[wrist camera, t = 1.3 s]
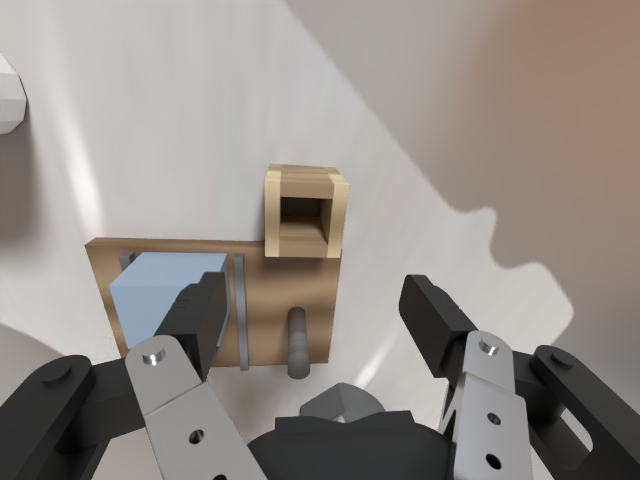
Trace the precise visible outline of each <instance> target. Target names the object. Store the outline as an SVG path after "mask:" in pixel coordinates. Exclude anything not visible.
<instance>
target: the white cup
mask: <svg viewBox="0 0 640 480" xmlns="http://www.w3.org/2000/svg"><path fill="white" fill-rule="evenodd" d="M26 101H27V99H26V96H25V93H24V90H23V87H22V84H21V81H20V78H19V76H18V74H17V73H16V71H15V70H14V69H13V68H12V66H11V65H10V64H9V62H8V61H7V60H6V59H5V57H4V56H3V55H2V53H1V52H0V134H6V133H10V132H11V131H12V130H13V129H15V128H16V127H17V126H18V125H19V124H20V123H21V122H22V121H23V120H24V115H25V108H26Z"/></svg>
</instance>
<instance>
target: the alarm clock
mask: <svg viewBox="0 0 640 480" xmlns="http://www.w3.org/2000/svg"><path fill="white" fill-rule="evenodd" d="M377 412H386V411H385V409H384V408H383V406H382V405H381V403H380V402H379V401H378V400H377V399H376V398H375V397H374V396H372V395H371V394H369V393H368V392H366V391H364V390H362V389H360V388H358V387H356V386H353V385H350V384H346V383H338V384H336V385H335V386H333V387H331V388H330V389H328V390H326V391H325V392H323V393H322V394H320V395H318V396H317V397H315V398H313V399H312V400H310V401H308V402H307V403H305V404H304V405H302V406H301V408H300V413H301V416H314V417H318V418H323V419H328V420H332V421H337V422H342V423H349V422H352V421H355V420H358V419H361V418H363V417H366V416H369V415H372V414H375V413H377Z"/></svg>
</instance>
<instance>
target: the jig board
mask: <svg viewBox="0 0 640 480" xmlns="http://www.w3.org/2000/svg"><path fill="white" fill-rule="evenodd" d="M85 248H86V251H87V254H88V257H89V260H90V263H91V267H92V270H93V273H94V276H95V279H96V282H97V285H98V288H99V291H100V294H101V297H102V300H103V303H104V306H105V309H106V312H107V316H108V319H109V322H110V325H111V328H112V331H113V334H114V337H115V340H116V343H117V346H118V349H119V352H120V355H121V358H124V357H126V356H127V354H128V353H129V351H130V350H131V349H128V347H127V344H126V341H125V337H124V334H123V331H122V328H121V324H120V321H119V318H118V315H117V311H116V308H115V305H114V301H113V298H112V295H111V292H110V288H109V285H110V284H111V283H112V282H113V281H114V280H115V279H116V278H117V277H118V276H119V275H120V274H121V273H122V272H123V271H124V270H125V269H126V268H127V267H128V266H129V265H130V264H131V263H132V262H133V261H134V260H135V259H136V258H137V257H138V256H139V255H141V254H142V253H143V252H171V253H227V259H228V272H229V285H230V298H231V309H230V313H229V316H228V320H227V323H226V327H225V330H224V334H223V337H222V341H221V344H220V346H216V350H215V353H214V356H213V359H212V362H211V366H210V367H229V366H240V367H241V371H244V370H248V369H249V366H258V365H287V364H288V375H289V376H290V377H291V378H293V379H303V378H305V377H307V376H308V375H309V373H310V364H315V363H328V358H329V350H330V342H331V335H332V327H333V319H334V311H335V303H336V296H337V288H338V280H339V272H340V264H341V257H342V248H341V254H340V258H323V257H265V242H263V241H221V240H178V239H136V238H94V239H93V240H91V241H90V242H88V243H87V244H86V245H85Z"/></svg>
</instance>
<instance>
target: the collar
mask: <svg viewBox="0 0 640 480" xmlns="http://www.w3.org/2000/svg"><path fill="white" fill-rule="evenodd" d="M348 191H349V184H348V183H347V182H346V181H345V179H344V178H343V177H342V176H341V174H340V173H339V172H338V171H337V170H336V168H328V167H312V166H295V165H279V164H270V166H269V169H268V172H267V175H266V178H265V257H323V258H340V254H341V246H342V238H343V230H344V223H345V215H346V207H347V199H348ZM281 196H282V197H304V198H321V208H320V217H306V216H281Z"/></svg>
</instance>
